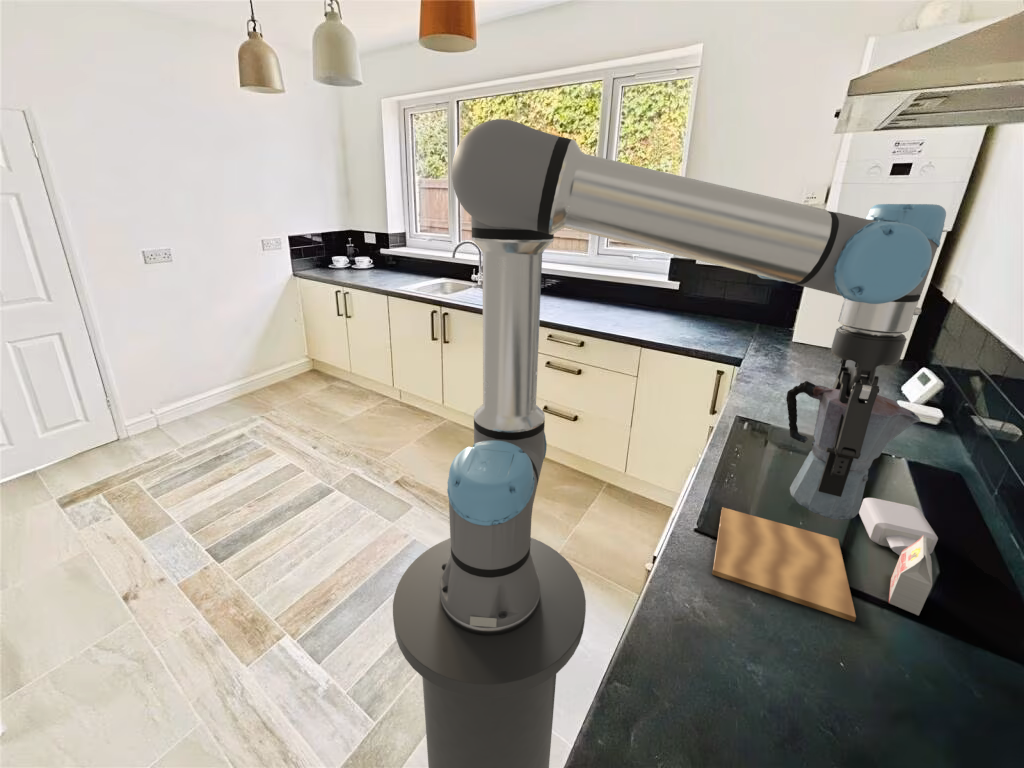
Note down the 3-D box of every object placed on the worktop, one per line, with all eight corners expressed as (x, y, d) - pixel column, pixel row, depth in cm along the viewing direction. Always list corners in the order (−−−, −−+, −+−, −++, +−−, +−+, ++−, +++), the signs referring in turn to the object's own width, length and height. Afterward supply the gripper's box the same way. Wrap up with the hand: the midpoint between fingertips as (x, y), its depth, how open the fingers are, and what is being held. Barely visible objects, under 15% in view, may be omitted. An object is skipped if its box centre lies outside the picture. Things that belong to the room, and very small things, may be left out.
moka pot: (882, 540, 62) (933, 404, 55) (757, 497, 70) (787, 375, 63) (883, 507, 69) (928, 383, 62) (769, 472, 78) (797, 360, 70)
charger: (878, 563, 80) (857, 515, 93) (944, 580, 77) (913, 528, 90) (886, 541, 79) (864, 495, 92) (954, 557, 75) (921, 508, 88)
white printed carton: (919, 590, 75) (940, 540, 71) (918, 615, 70) (942, 563, 66) (890, 578, 77) (910, 530, 74) (888, 602, 72) (909, 552, 69)
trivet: (711, 574, 77) (713, 569, 77) (721, 511, 94) (722, 507, 93) (854, 622, 69) (856, 617, 68) (836, 543, 85) (838, 538, 85)
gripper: (930, 353, 50) (869, 525, 58) (890, 318, 67) (847, 454, 75) (847, 343, 53) (800, 507, 61) (829, 312, 70) (794, 443, 78)
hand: (826, 478), depth 68 cm, fingers closed on moka pot, 8 cm apart
